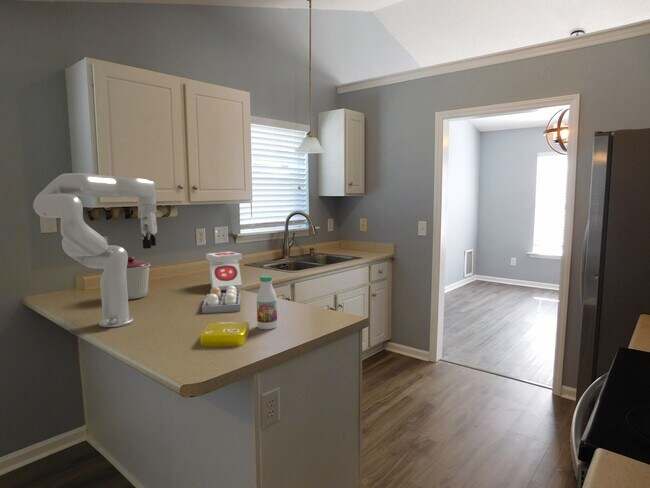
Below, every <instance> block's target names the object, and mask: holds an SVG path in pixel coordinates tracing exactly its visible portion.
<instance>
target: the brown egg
mask: <svg viewBox="0 0 650 488" xmlns="http://www.w3.org/2000/svg"><path fill="white" fill-rule="evenodd" d="M209 292H210V293H209V294H216V295H217V296H218V297H221V293H222V290H220V288H218V287H213V288H212V287H211V288H210V291H209Z"/></svg>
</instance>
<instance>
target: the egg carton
mask: <svg viewBox="0 0 650 488" xmlns="http://www.w3.org/2000/svg"><path fill="white" fill-rule="evenodd" d="M237 290H238V289H236V288H235V287H234V286H229V287H228V288H227V290H226V292H223V293H222V292H221V297H218V296H217V295H216V294H210V293H207V294H206V295H205V298H204V301H203V302H202V303H203V304H202V306H201V312H202V313H201V314H213V313H229V312H241V308H242V307H241V303H242V292H241V291H240V292H237Z"/></svg>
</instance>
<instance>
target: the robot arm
mask: <svg viewBox="0 0 650 488" xmlns="http://www.w3.org/2000/svg"><path fill="white" fill-rule="evenodd" d="M79 197H88V198H89V197H90V198H91V197H92V198H94V197H96V198H124V197H125V198H137V212H138V213H140V231H141V234H142V249H144V250H145V249H147V250H148V249H152V247H153V246H154V247H155V246H156V245H157V243H156V242H157V240H156V234H157V233H158V224H157V215H156V212H158V211H157V195H156V184H155V181H153V180H149V179H145V178H137V177H136V178H135V177H134V178H133V177H126V176H125V177H124V176H117V175H115V176H114V175H104V174H96V173H95V174H94V173H87V172H85V173H84V172H75V173H74V172H72V173H70V172H69V173H62V174H60V175H58V176H57V177H55V178H53V179H52V181H51V182H50V183H49V184H47V186H45V187H44V189H42V190H41V191H40V192H39V193H38V194H37V196H36V197H35V199H34V200H33V205H32V206H33V210H34V212H35V213H36V215H38V216H39V217H43V218H48V219H54V218H55V219H60V235H61V236H62V237H63V238H62V239H61V247H62V249H63V252H64V253H65V254H66V255H67V256H69V257H70V258H71V259H73V260H75V261H76V262H79V264H81V265H83V266H85V267H86V268H88V269H96V270H98V269H101V270H103V272H102V274H101V276H100V278H99V279H100V280H99V286H100V296H101V298H100V299H101V311H102V319H101V320H99V322H98V325H99V327H100V328H101V327H102V328H117V327H122V326H126V325H129V324H131V323H133V322H134V317H133V316H130V312H129V299H128V293H127V279H126V269H127V262H128V257H129V255H128V252H127V250H126V249H125V248H124V247H122V246H119V245H113V244H111V245H109V244H108V242H107V240H106V238H105V237H103V236H102V235H101V234H100V233H98V232H97V231H96V230H94V229H93V228H91V227H90V226H89V225H88V224H87V223H86V222H85V220H84V214H83V213H84V211H83V209H84V207H83V202H82V200H81V199H80V198H79Z"/></svg>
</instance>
